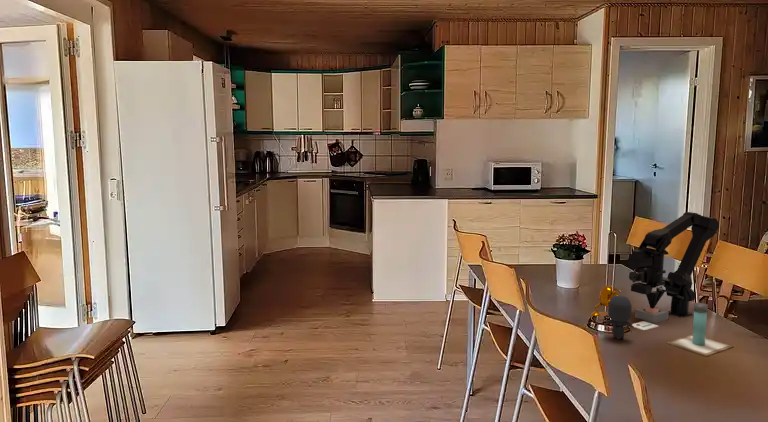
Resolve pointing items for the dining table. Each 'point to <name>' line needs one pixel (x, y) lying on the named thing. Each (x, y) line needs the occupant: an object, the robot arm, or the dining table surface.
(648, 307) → the button
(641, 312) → the button box
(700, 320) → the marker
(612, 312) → the toy
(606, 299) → the figurine
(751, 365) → the dining table surface
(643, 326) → the card
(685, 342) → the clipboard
